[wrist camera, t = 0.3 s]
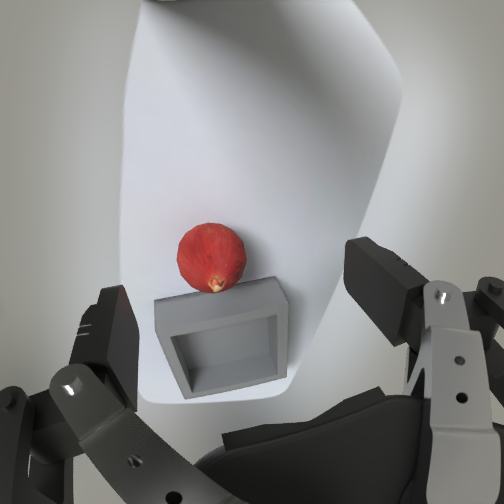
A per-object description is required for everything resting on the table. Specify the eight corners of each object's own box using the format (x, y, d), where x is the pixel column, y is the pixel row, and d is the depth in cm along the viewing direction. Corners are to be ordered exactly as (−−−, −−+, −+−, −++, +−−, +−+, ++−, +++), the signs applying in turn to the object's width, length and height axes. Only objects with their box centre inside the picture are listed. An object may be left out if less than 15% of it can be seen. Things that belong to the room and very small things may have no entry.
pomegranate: (242, 212, 29) (267, 260, 23) (228, 264, 32) (247, 318, 26) (180, 204, 28) (186, 252, 21) (171, 259, 30) (176, 316, 24)
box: (154, 300, 32) (154, 330, 29) (274, 276, 35) (288, 303, 31) (181, 371, 40) (184, 399, 36) (276, 351, 42) (286, 377, 38)
